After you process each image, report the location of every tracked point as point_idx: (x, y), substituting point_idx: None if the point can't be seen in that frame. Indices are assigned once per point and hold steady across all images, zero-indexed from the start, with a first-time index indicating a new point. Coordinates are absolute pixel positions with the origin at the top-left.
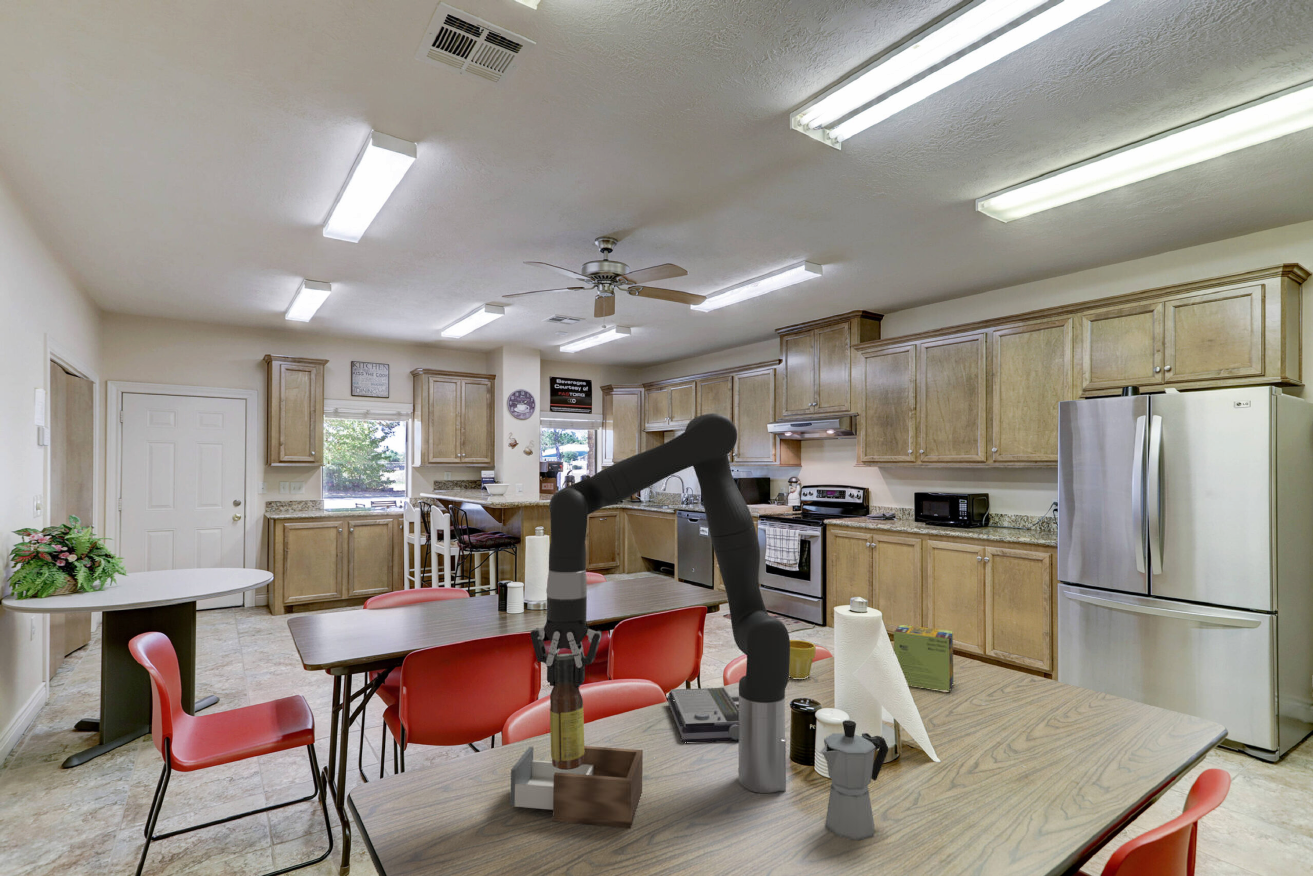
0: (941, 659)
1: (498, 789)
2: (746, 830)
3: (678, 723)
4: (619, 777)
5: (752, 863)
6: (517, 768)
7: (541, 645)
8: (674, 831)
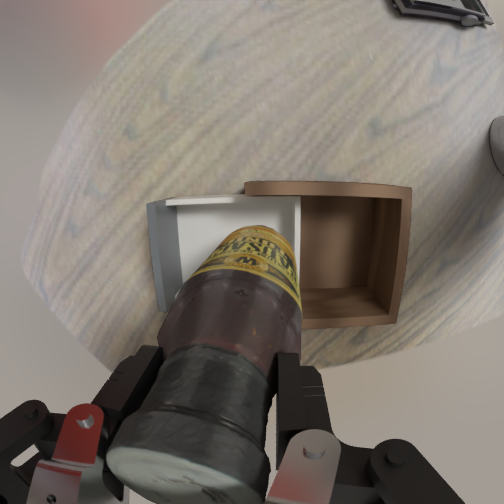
0: None
1: (133, 215)
2: (488, 266)
3: None
4: (376, 315)
5: (477, 322)
6: (166, 300)
7: (19, 487)
8: (423, 285)
